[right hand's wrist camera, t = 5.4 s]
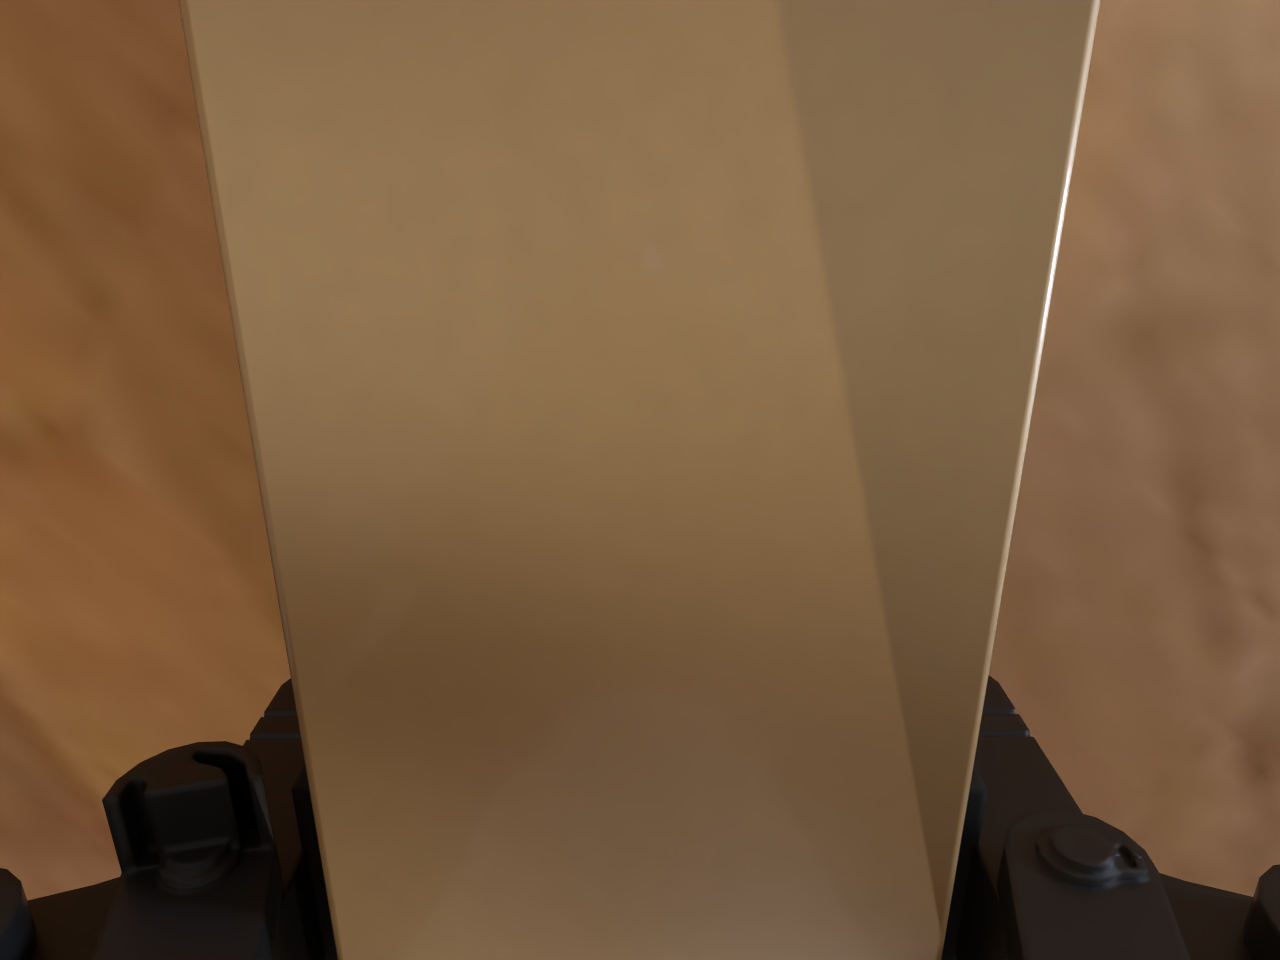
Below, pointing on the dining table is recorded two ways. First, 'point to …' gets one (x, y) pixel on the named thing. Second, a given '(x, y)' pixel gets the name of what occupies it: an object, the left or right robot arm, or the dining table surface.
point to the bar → (639, 446)
